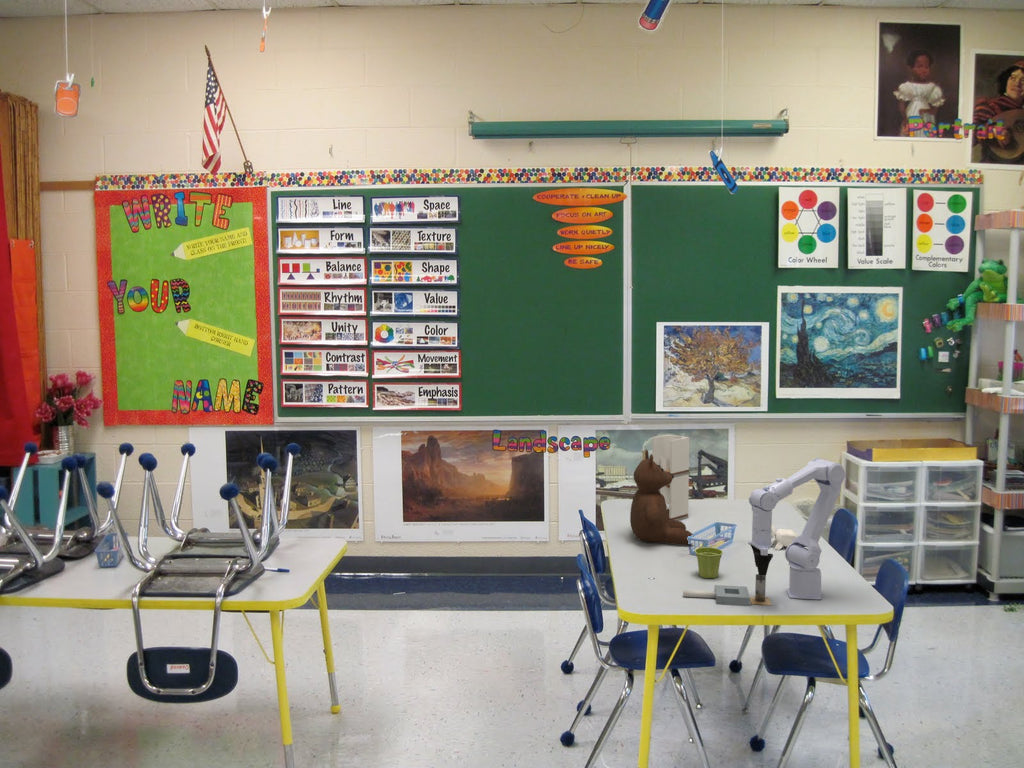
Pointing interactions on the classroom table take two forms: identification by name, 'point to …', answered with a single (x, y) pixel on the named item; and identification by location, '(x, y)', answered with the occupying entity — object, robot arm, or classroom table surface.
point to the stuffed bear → (654, 507)
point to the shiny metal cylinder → (760, 588)
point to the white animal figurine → (782, 537)
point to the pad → (753, 602)
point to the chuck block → (723, 595)
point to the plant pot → (708, 561)
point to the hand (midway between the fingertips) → (760, 570)
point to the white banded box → (674, 472)
